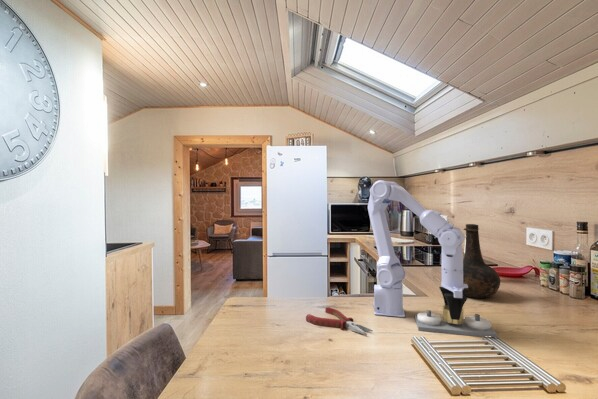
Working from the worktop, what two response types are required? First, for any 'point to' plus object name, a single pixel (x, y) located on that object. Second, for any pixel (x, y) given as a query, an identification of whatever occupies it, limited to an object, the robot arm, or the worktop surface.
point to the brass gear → (448, 319)
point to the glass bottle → (477, 268)
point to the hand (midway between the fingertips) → (452, 315)
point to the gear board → (455, 325)
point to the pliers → (337, 321)
